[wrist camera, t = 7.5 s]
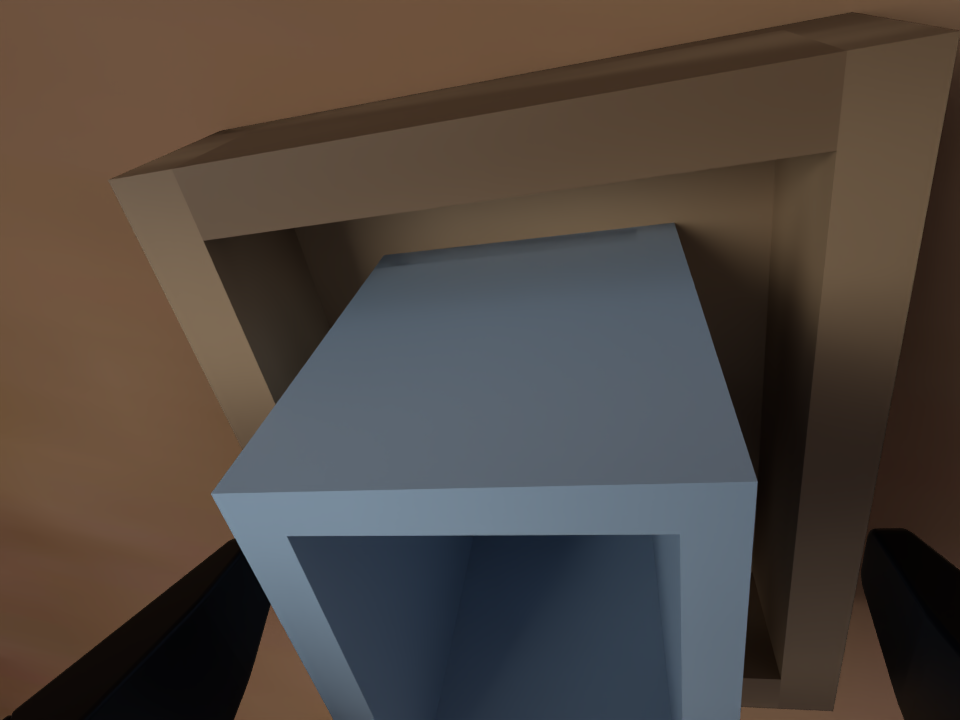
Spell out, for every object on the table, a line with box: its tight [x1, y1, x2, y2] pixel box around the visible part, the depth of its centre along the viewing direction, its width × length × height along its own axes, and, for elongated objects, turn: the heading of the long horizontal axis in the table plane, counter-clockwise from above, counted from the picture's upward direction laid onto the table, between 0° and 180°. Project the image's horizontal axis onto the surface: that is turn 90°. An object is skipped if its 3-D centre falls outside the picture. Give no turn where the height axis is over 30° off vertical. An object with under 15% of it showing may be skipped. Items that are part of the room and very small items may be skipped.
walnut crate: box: [108, 12, 960, 711], centre depth 11 cm, size 12×10×3 cm
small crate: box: [211, 223, 758, 720], centre depth 10 cm, size 7×5×6 cm
